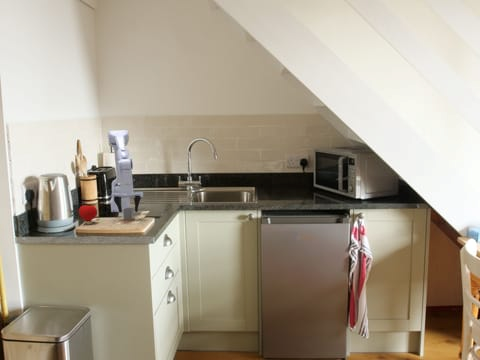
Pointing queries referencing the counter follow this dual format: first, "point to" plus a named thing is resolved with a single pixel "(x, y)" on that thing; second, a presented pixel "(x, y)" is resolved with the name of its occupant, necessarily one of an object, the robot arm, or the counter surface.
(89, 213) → the red heart ornament
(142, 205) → the counter surface
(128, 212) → the plug
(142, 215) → the socket board
